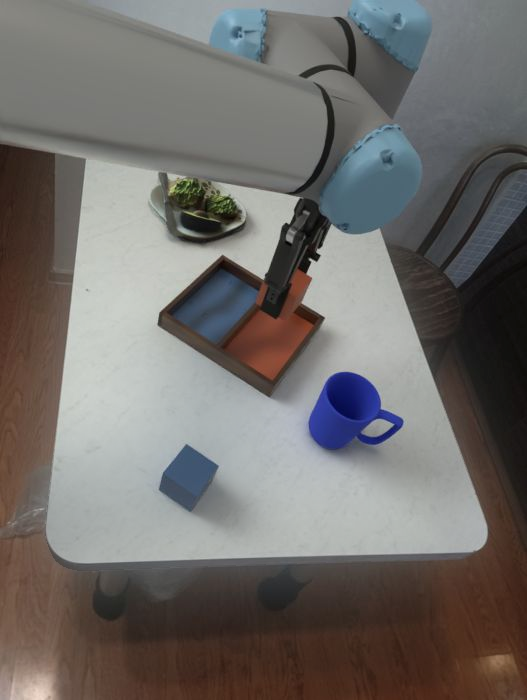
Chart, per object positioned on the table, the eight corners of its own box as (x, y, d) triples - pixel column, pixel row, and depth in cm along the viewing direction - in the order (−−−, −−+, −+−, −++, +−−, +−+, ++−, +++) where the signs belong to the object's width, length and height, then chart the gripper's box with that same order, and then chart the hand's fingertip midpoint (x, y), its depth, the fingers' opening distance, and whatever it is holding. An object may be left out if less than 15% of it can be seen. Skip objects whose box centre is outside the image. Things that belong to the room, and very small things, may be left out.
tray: (157, 324, 84) (159, 312, 82) (219, 266, 96) (222, 254, 93) (269, 397, 81) (274, 386, 79) (319, 328, 93) (325, 317, 90)
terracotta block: (285, 322, 74) (295, 297, 70) (255, 303, 75) (263, 278, 71) (301, 302, 77) (312, 277, 73) (272, 284, 78) (281, 259, 74)
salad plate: (122, 187, 102) (124, 167, 99) (199, 168, 112) (203, 149, 108) (180, 253, 95) (183, 233, 92) (256, 227, 105) (262, 208, 101)
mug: (371, 476, 78) (402, 444, 70) (295, 442, 78) (317, 407, 70) (381, 431, 83) (411, 396, 75) (309, 399, 83) (332, 362, 75)
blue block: (158, 489, 69) (162, 473, 65) (181, 460, 72) (186, 443, 68) (190, 512, 68) (196, 496, 64) (212, 482, 71) (219, 465, 67)
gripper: (340, 114, 64) (286, 256, 82) (266, 174, 53) (222, 324, 71) (395, 144, 63) (328, 281, 81) (331, 212, 52) (270, 354, 69)
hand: (279, 301), depth 76 cm, fingers closed on terracotta block, 5 cm apart
